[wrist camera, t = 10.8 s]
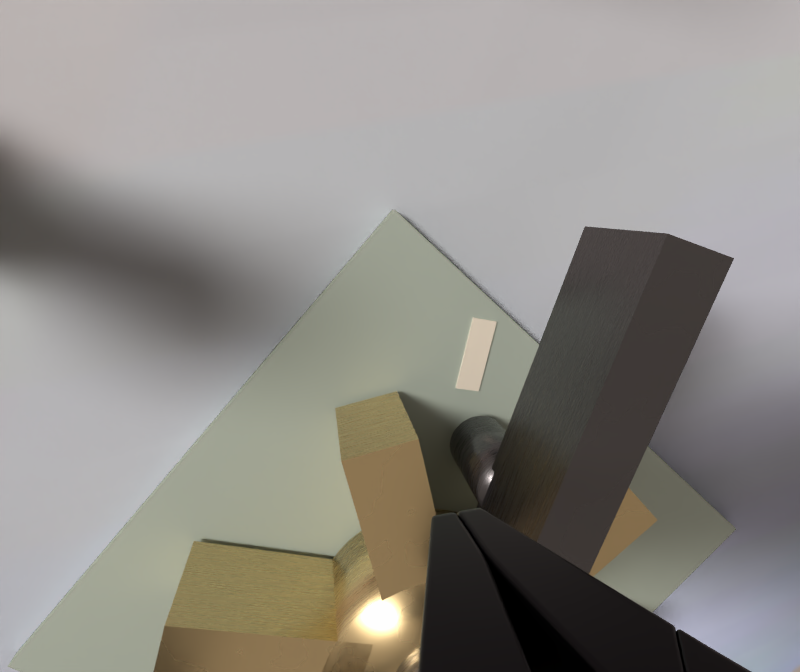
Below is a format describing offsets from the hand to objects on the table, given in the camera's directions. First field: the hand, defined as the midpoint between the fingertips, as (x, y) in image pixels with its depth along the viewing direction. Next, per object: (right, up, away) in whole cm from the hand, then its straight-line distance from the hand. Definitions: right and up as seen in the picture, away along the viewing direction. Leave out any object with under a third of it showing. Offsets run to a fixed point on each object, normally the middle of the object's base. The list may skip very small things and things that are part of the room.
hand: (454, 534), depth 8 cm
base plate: (0, -8, +15) cm, 17 cm away
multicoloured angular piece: (+1, -5, +13) cm, 14 cm away
